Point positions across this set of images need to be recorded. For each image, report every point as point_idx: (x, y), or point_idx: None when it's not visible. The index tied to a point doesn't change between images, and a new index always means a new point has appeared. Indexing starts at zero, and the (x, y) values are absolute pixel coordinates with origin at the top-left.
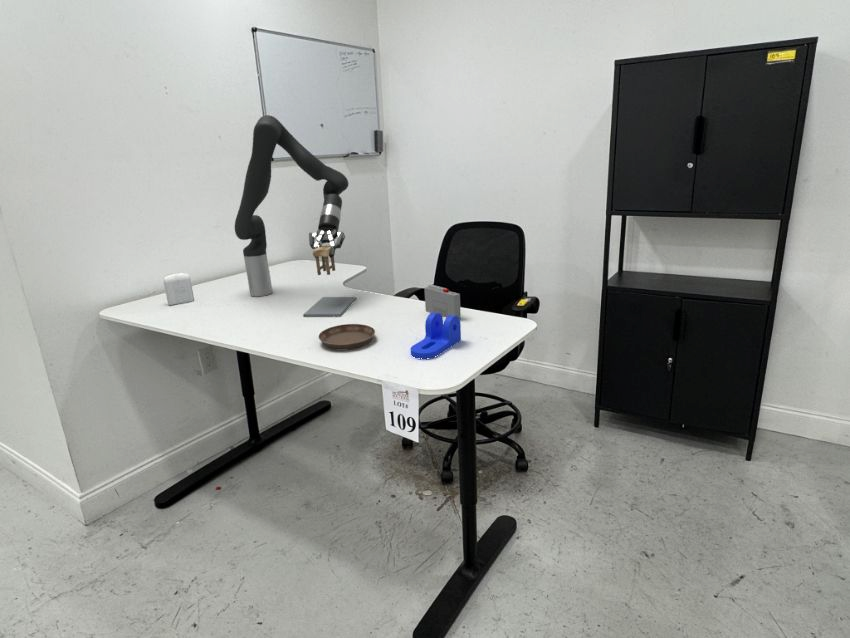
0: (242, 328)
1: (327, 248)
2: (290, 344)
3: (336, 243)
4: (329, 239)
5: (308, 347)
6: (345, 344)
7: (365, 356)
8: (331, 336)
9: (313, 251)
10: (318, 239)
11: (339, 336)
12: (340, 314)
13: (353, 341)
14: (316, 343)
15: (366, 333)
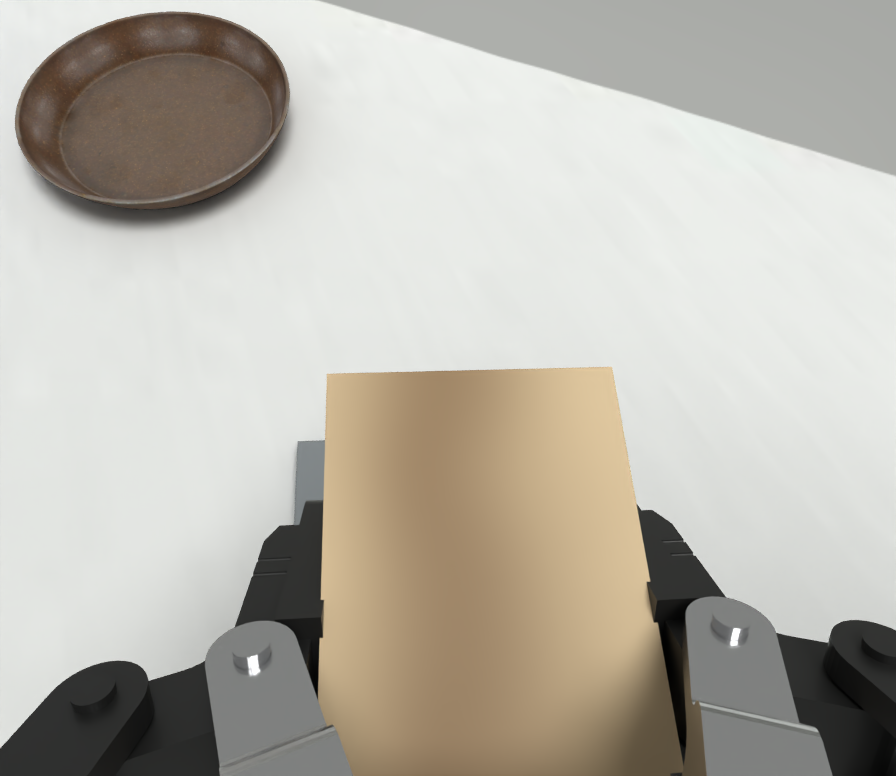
0: (784, 254)
1: (361, 515)
2: (422, 98)
3: (126, 697)
4: (335, 758)
5: (329, 75)
6: (142, 15)
7: (69, 15)
8: (255, 153)
9: (600, 377)
10: (750, 745)
11: (216, 157)
12: (298, 453)
13: (137, 116)
14: (309, 108)
15: (82, 186)
